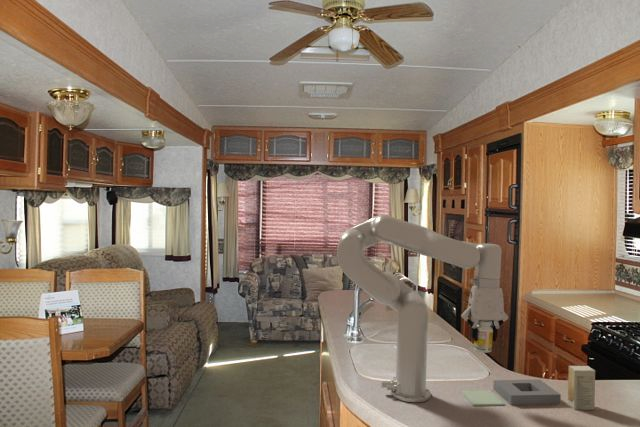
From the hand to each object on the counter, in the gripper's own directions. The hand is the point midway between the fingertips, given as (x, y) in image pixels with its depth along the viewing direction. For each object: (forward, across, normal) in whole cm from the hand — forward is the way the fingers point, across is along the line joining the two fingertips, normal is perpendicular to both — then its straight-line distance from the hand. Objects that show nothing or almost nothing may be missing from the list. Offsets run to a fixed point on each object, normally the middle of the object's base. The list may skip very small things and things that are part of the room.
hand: (483, 339), depth 151 cm
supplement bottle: (+4, 0, 0) cm, 4 cm away
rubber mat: (+19, +1, 0) cm, 19 cm away
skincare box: (+18, +29, -8) cm, 35 cm away
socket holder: (+19, +16, +1) cm, 24 cm away
